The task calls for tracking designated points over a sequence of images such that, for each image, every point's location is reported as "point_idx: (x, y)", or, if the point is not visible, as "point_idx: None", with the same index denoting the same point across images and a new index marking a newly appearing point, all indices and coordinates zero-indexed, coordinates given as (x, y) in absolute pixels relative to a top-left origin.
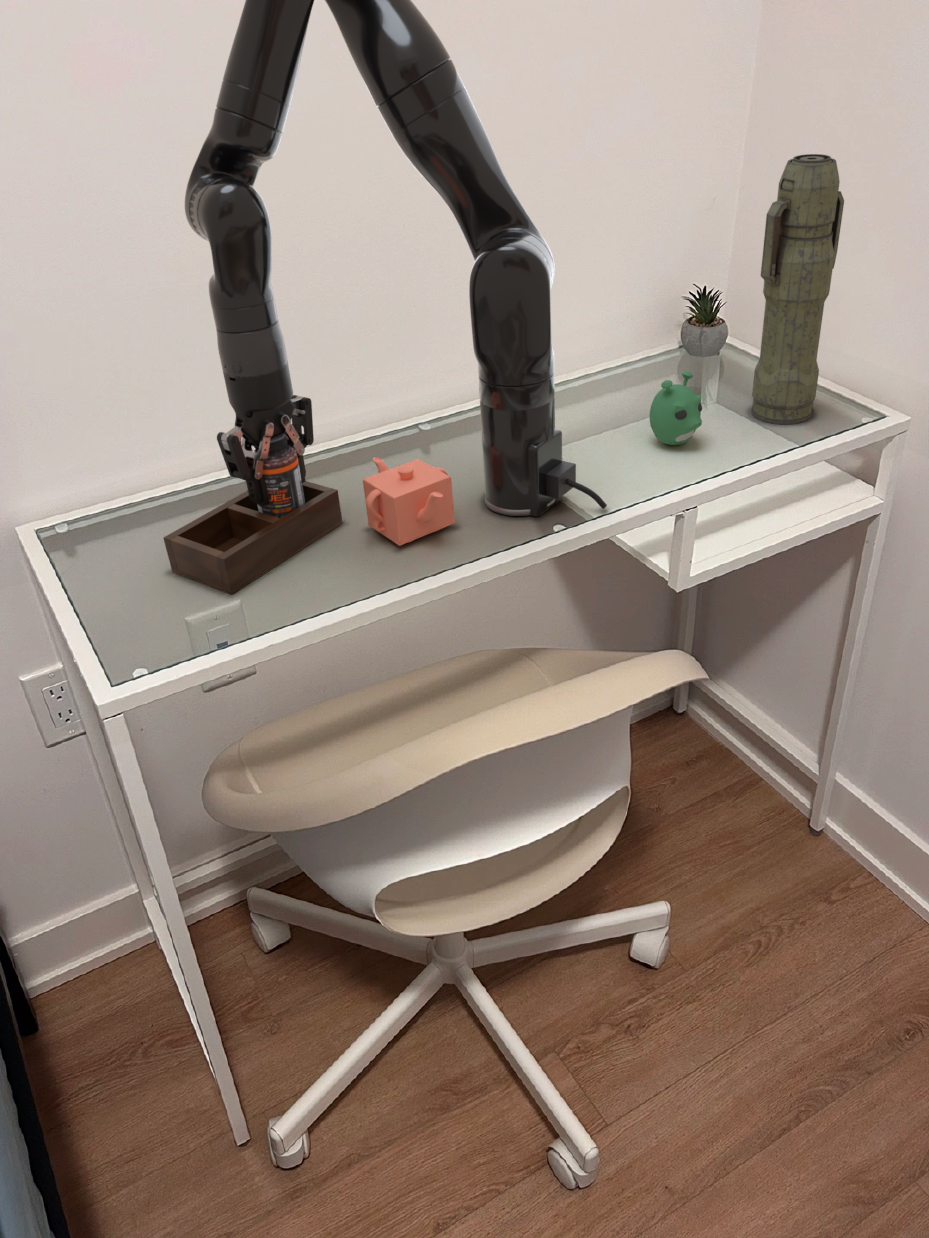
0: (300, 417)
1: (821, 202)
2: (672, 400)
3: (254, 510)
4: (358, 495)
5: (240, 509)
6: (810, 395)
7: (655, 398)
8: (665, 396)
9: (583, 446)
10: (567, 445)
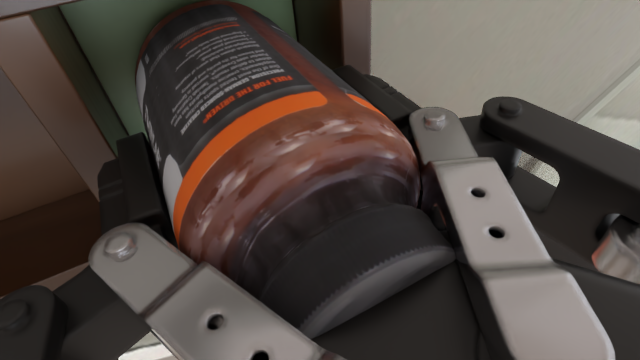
0: (591, 234)
1: None
2: None
3: (105, 140)
4: (434, 23)
5: (45, 97)
6: None
7: None
8: None
9: (612, 135)
10: (616, 121)
